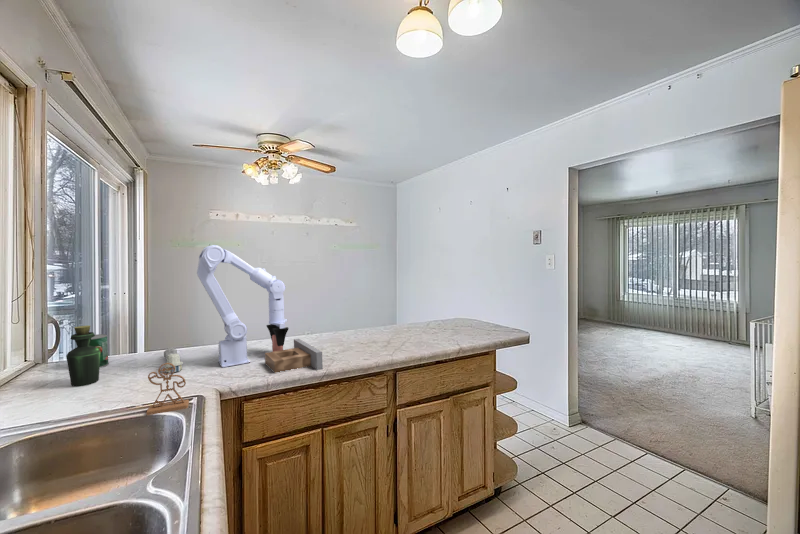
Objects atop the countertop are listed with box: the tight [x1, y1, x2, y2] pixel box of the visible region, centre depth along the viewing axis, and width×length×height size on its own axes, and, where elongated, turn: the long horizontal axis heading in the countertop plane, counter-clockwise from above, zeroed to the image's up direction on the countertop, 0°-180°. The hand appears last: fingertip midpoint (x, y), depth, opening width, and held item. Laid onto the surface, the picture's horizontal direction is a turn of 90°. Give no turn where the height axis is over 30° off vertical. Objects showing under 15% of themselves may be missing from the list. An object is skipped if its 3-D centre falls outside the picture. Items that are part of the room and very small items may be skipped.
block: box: [264, 347, 312, 373], centre depth 125 cm, size 12×12×4 cm
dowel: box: [271, 335, 284, 352], centre depth 138 cm, size 4×4×8 cm
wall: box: [293, 338, 323, 371], centre depth 129 cm, size 2×24×6 cm, turn 35°
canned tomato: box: [89, 333, 110, 369], centre depth 128 cm, size 8×8×11 cm
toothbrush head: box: [163, 347, 184, 374], centre depth 128 cm, size 5×7×25 cm
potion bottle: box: [66, 325, 101, 388], centre depth 110 cm, size 8×8×18 cm
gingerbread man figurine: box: [145, 362, 190, 416], centre depth 90 cm, size 9×4×12 cm, turn 116°
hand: (277, 343), depth 138 cm, fingers open, 7 cm apart
